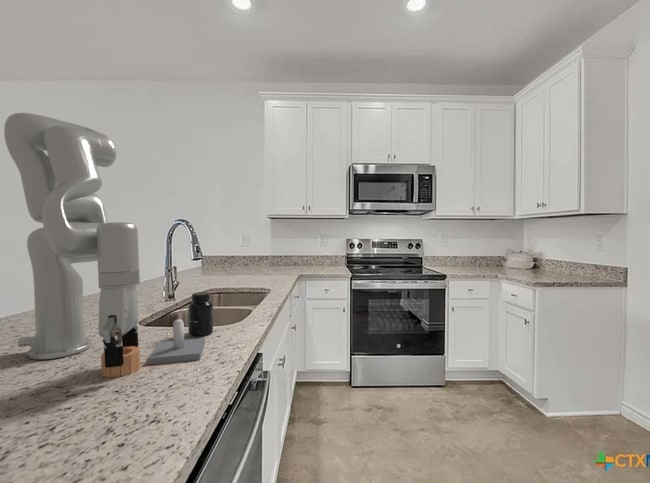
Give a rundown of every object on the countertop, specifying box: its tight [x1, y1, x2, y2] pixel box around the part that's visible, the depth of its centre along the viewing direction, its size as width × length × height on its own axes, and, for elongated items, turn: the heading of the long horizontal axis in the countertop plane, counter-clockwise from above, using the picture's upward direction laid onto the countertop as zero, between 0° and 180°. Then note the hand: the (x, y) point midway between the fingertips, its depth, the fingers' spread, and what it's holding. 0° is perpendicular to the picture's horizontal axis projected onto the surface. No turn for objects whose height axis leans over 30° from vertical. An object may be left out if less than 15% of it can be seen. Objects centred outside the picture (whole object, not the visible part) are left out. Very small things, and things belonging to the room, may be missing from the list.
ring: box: [100, 346, 141, 378], centre depth 71 cm, size 7×7×4 cm
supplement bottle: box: [187, 291, 214, 338], centre depth 95 cm, size 7×7×12 cm
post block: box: [147, 318, 206, 366], centre depth 80 cm, size 11×11×8 cm
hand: (123, 357), depth 70 cm, fingers open, 9 cm apart
